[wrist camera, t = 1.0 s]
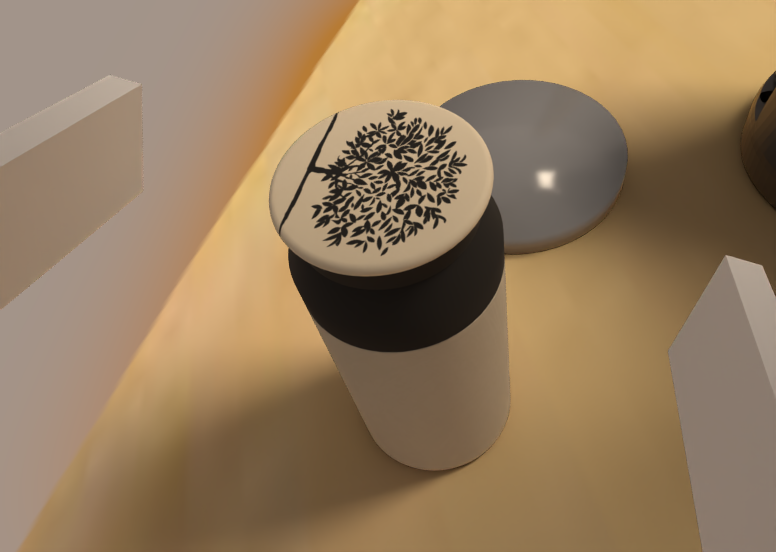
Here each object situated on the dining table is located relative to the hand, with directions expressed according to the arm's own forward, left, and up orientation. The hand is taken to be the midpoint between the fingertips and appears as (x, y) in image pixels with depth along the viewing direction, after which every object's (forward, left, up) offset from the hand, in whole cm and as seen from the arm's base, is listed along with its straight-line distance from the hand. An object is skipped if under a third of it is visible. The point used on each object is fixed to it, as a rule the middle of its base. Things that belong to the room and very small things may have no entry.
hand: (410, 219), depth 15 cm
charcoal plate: (-10, -20, -22) cm, 32 cm away
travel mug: (0, -6, -23) cm, 23 cm away
